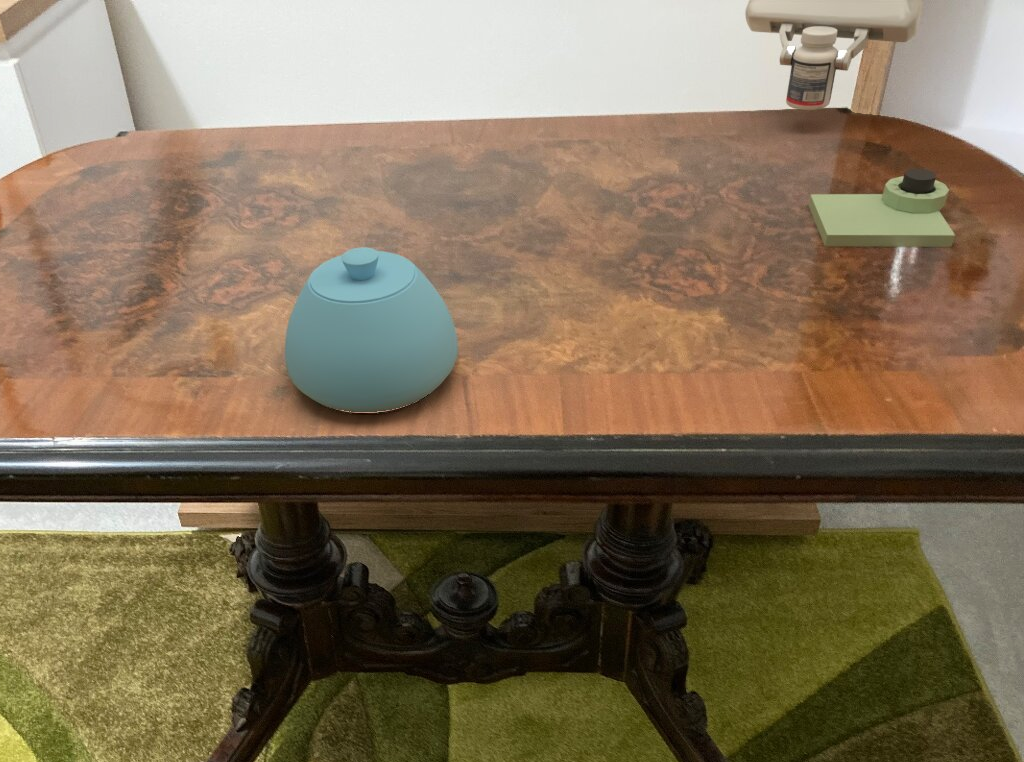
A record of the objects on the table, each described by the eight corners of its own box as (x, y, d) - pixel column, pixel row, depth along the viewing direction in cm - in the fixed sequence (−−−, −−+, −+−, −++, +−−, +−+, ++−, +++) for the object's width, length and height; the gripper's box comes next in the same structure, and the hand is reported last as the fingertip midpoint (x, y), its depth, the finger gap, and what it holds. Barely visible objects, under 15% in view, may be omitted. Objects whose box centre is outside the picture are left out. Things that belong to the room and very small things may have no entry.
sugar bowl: (270, 421, 77) (243, 299, 69) (311, 327, 88) (292, 214, 81) (448, 426, 74) (440, 300, 67) (467, 329, 86) (462, 213, 79)
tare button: (927, 184, 97) (932, 168, 96) (935, 195, 95) (940, 179, 94) (897, 184, 98) (901, 168, 97) (904, 196, 96) (908, 179, 94)
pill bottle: (800, 94, 120) (813, 22, 115) (837, 102, 117) (852, 28, 111) (776, 105, 118) (788, 31, 112) (813, 113, 114) (827, 38, 109)
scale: (931, 202, 100) (939, 175, 98) (961, 248, 91) (970, 219, 90) (806, 202, 102) (811, 176, 100) (824, 247, 94) (830, 219, 92)
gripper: (761, -59, 116) (726, 44, 116) (939, -54, 106) (901, 58, 106) (766, -28, 122) (733, 71, 121) (936, -20, 112) (900, 86, 112)
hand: (813, 65), depth 114 cm, fingers closed on pill bottle, 5 cm apart
